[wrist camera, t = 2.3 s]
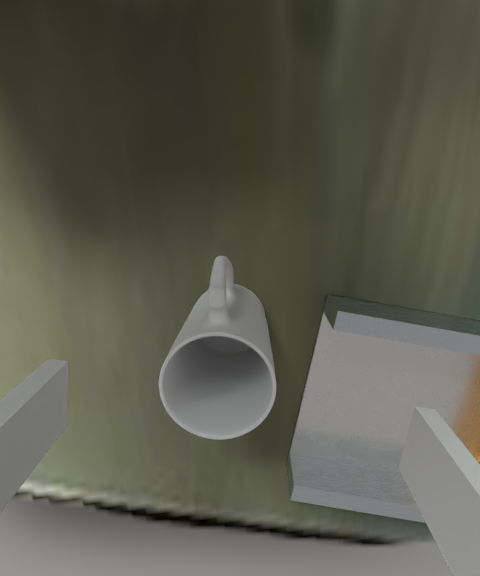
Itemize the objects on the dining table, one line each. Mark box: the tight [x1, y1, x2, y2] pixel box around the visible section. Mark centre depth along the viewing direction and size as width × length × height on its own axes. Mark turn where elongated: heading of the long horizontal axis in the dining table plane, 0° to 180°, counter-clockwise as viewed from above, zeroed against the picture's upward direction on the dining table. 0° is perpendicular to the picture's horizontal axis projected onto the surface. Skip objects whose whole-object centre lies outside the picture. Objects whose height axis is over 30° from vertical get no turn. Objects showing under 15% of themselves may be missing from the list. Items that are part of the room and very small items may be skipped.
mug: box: [159, 256, 276, 440], centre depth 28 cm, size 10×7×12 cm, turn 1°
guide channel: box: [286, 294, 480, 523], centre depth 34 cm, size 18×17×4 cm
